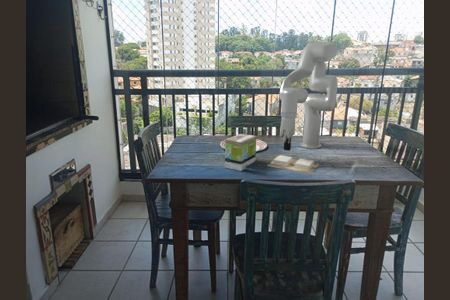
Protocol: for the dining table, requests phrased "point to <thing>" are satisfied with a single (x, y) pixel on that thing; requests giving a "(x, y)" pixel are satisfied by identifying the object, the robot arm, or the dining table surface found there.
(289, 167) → the striped wooden board
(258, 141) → the dinner plate
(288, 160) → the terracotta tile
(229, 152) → the tea box
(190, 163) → the dining table surface
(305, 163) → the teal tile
